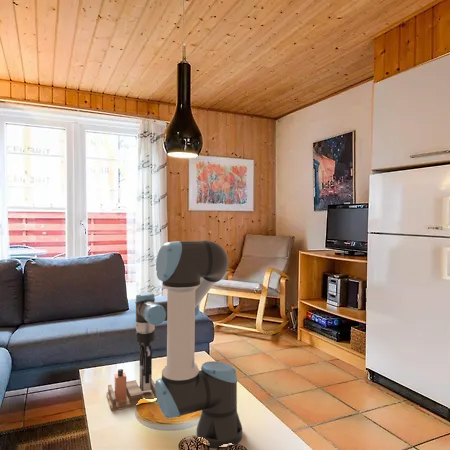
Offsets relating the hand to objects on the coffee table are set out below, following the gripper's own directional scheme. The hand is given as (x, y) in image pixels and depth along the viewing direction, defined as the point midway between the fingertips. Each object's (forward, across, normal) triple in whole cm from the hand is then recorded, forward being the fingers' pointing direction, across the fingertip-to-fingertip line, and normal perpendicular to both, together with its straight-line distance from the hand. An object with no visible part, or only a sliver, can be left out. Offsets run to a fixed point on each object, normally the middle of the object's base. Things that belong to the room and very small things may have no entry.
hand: (145, 387), depth 151 cm
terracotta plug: (+2, 0, -10) cm, 10 cm away
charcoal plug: (0, 0, 0) cm, 0 cm away
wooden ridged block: (+3, 0, -5) cm, 6 cm away
